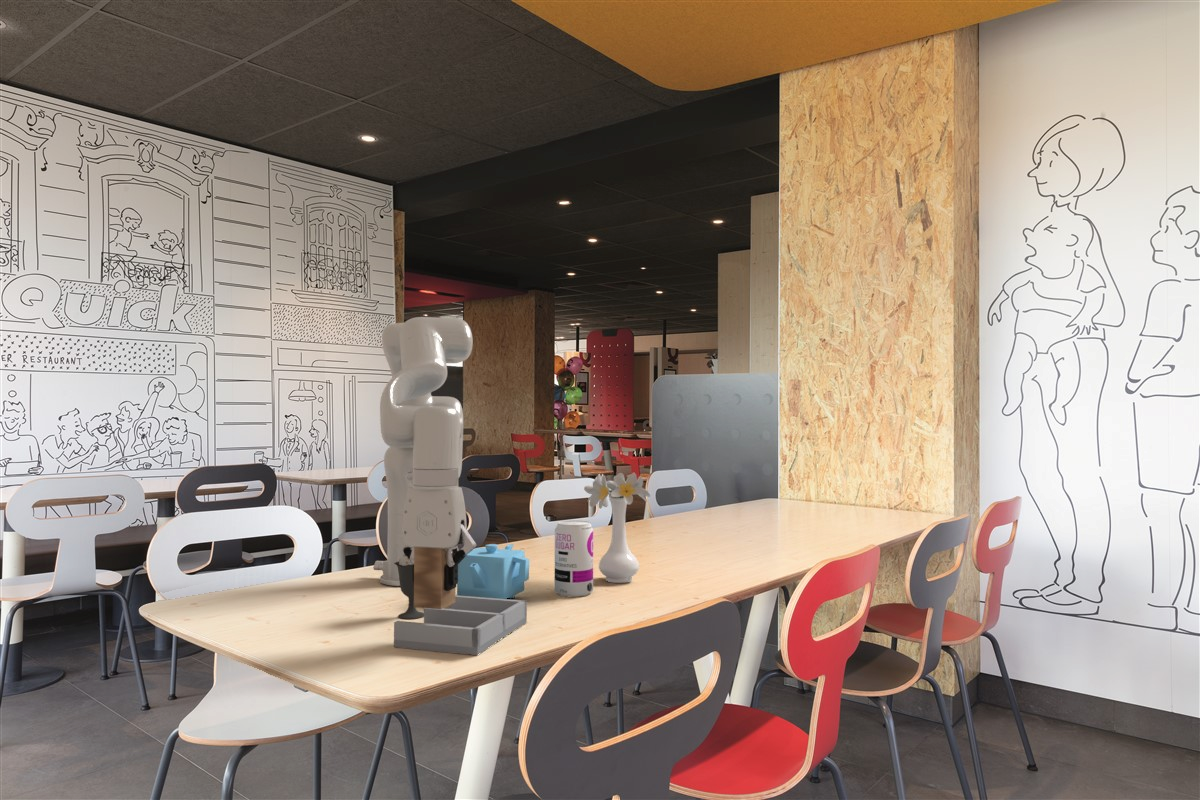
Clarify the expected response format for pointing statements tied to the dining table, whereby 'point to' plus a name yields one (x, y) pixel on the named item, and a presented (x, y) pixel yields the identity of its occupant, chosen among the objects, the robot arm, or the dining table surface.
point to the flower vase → (617, 523)
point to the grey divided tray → (462, 625)
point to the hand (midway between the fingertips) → (435, 586)
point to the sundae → (407, 587)
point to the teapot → (493, 572)
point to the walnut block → (430, 579)
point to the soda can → (574, 558)
